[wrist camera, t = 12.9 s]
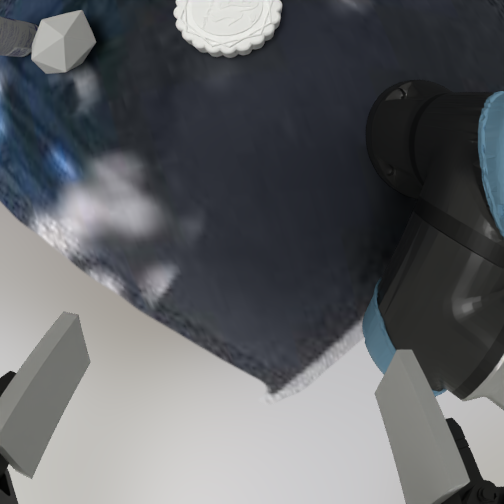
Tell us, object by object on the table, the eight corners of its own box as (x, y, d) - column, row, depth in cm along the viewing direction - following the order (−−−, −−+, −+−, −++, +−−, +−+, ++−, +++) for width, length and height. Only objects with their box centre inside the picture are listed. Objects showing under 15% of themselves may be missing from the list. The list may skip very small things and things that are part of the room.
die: (66, 17, 28) (9, 46, 23) (98, -9, 24) (32, 18, 19) (86, 61, 34) (33, 94, 29) (120, 42, 30) (58, 75, 25)
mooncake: (264, 69, 32) (265, 64, 29) (167, 48, 31) (158, 43, 28) (292, -13, 27) (295, -24, 24) (197, -32, 26) (191, -43, 23)
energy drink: (21, 25, 27) (-32, 16, 16) (45, 22, 28) (-10, 10, 17) (12, 57, 30) (-43, 55, 19) (35, 56, 30) (-22, 52, 19)
